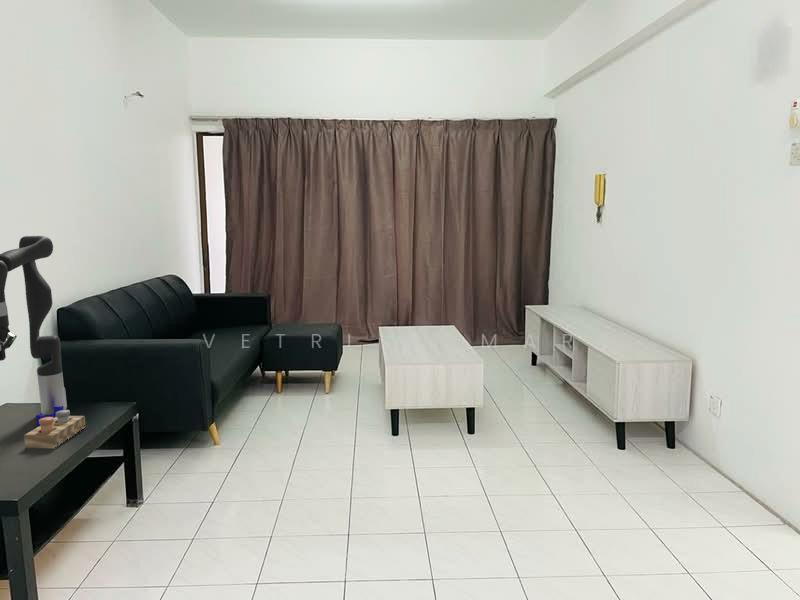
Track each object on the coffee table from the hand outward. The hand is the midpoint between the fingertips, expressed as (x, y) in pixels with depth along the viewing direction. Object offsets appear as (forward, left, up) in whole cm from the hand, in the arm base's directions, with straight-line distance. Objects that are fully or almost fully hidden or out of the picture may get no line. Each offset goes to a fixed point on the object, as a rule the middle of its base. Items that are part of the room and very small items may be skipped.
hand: (1, 360), depth 221 cm
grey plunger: (-7, +17, -30) cm, 35 cm away
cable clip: (-16, +5, -31) cm, 35 cm away
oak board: (-2, +17, -31) cm, 35 cm away
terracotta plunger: (+3, +17, -29) cm, 34 cm away
